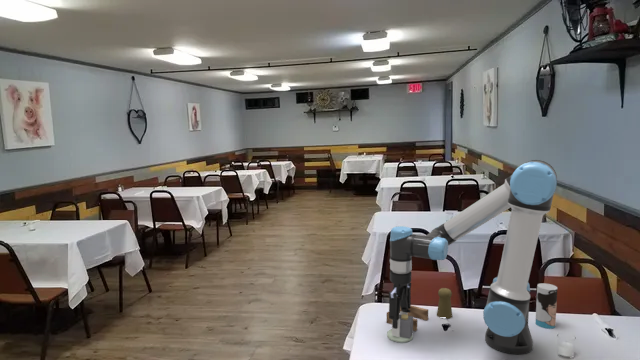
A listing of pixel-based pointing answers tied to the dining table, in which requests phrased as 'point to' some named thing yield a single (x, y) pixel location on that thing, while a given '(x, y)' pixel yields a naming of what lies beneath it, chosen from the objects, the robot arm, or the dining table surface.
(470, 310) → the dining table surface
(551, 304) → the cup
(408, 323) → the plug
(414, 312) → the guide channel
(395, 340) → the saucer
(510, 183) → the robot arm
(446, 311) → the cork
